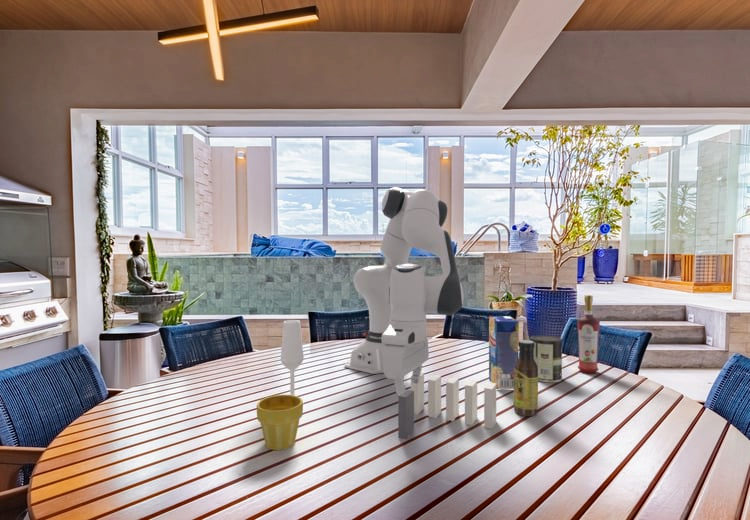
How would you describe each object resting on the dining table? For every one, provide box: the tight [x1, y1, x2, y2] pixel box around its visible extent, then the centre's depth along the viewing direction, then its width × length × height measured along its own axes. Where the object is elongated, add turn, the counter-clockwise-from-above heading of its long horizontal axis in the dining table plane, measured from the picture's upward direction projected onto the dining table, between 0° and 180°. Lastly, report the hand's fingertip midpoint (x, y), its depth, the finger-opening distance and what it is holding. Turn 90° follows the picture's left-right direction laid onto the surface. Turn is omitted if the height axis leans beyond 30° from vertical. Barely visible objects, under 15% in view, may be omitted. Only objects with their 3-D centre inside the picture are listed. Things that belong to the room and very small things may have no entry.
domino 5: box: [464, 379, 478, 426], centre depth 109 cm, size 2×5×10 cm, turn 153°
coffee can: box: [530, 334, 563, 384], centre depth 145 cm, size 10×10×14 cm
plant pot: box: [256, 394, 304, 451], centre depth 96 cm, size 10×10×10 cm
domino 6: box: [483, 382, 497, 430], centre depth 107 cm, size 2×5×10 cm, turn 153°
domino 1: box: [397, 389, 415, 440], centre depth 101 cm, size 2×5×10 cm, turn 153°
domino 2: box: [410, 372, 425, 415], centre depth 116 cm, size 2×5×10 cm, turn 153°
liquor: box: [577, 294, 601, 375], centre depth 153 cm, size 7×7×28 cm
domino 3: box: [427, 374, 442, 419], centre depth 114 cm, size 2×5×10 cm, turn 153°
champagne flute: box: [280, 319, 305, 404], centre depth 122 cm, size 7×7×24 cm
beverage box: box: [488, 315, 520, 389], centre depth 138 cm, size 7×11×22 cm, turn 177°
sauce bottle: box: [513, 339, 539, 417], centre depth 114 cm, size 6×6×20 cm
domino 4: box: [445, 376, 460, 422], centre depth 112 cm, size 2×5×10 cm, turn 153°
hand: (408, 388), depth 101 cm, fingers open, 8 cm apart
